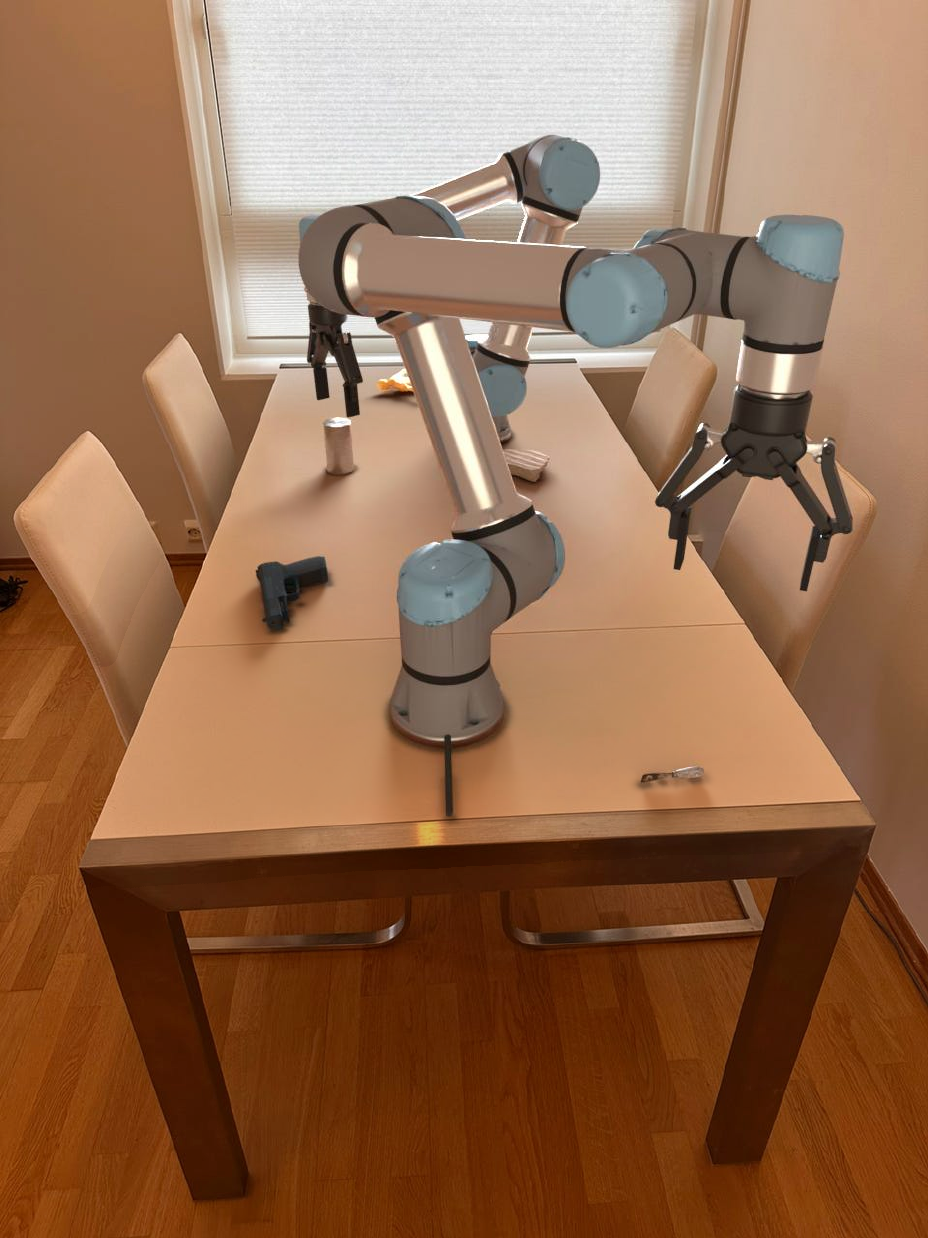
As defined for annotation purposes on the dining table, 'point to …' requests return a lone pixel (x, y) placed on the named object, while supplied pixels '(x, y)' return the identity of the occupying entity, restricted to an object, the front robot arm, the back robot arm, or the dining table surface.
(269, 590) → the handgun
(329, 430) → the canister
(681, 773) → the putty knife
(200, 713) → the dining table surface
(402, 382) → the orange white flat wedge
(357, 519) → the dining table surface
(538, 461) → the beige ridged slab
